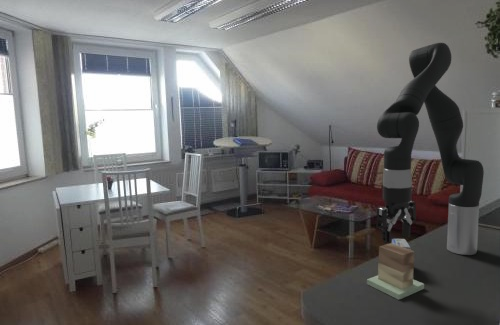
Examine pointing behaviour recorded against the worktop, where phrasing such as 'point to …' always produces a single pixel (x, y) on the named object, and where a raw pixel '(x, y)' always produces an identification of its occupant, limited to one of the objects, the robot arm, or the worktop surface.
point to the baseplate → (395, 288)
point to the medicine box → (401, 243)
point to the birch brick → (395, 276)
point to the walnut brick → (396, 257)
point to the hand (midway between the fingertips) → (396, 239)
